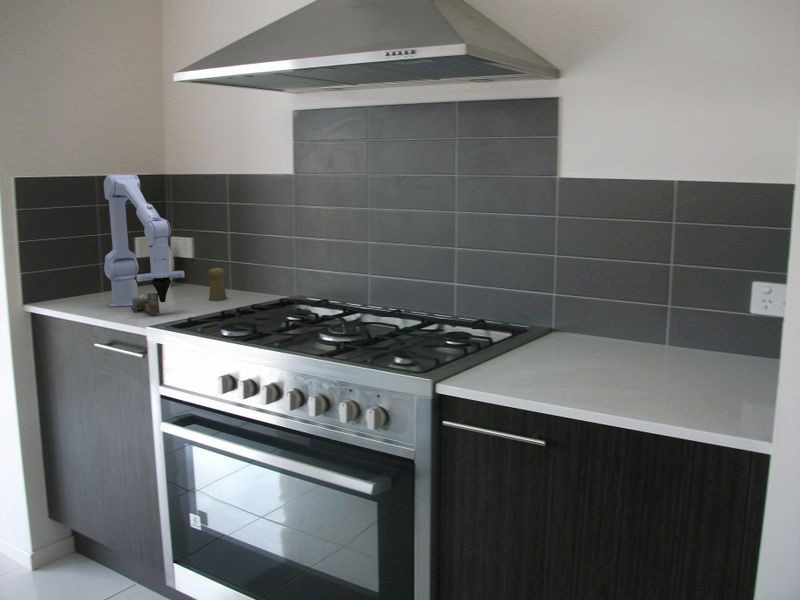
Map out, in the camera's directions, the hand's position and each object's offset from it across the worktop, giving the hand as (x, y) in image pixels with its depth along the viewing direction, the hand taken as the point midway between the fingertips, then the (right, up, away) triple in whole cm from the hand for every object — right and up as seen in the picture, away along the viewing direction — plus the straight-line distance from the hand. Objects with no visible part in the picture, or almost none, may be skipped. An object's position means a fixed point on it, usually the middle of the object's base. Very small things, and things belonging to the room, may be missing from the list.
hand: (162, 301), depth 252 cm
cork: (+12, +1, +26) cm, 28 cm away
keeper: (-8, -3, +6) cm, 11 cm away
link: (-6, -2, +5) cm, 8 cm away
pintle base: (-10, -2, +11) cm, 15 cm away
